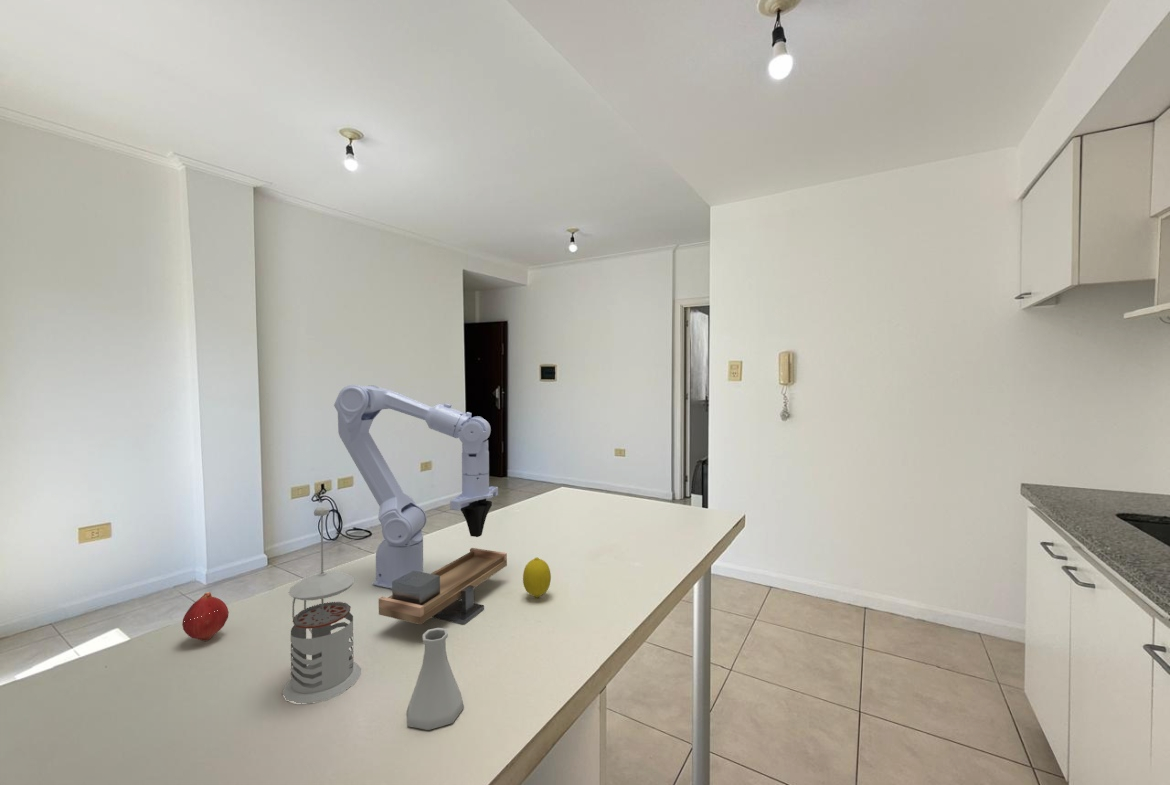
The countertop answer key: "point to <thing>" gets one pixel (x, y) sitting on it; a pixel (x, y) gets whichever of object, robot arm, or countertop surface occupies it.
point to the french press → (321, 637)
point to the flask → (434, 686)
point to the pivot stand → (461, 608)
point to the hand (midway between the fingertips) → (475, 535)
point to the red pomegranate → (205, 617)
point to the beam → (448, 585)
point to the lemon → (536, 577)
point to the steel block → (416, 587)
